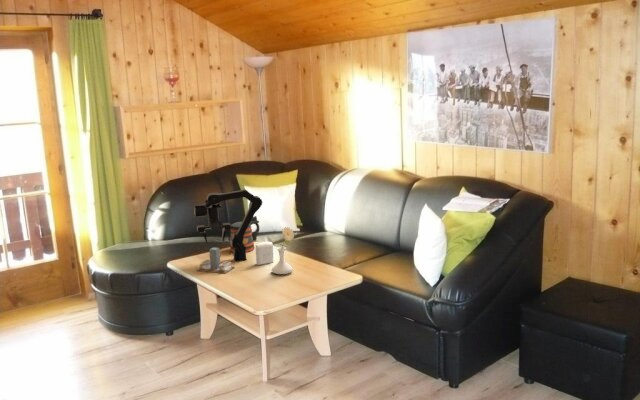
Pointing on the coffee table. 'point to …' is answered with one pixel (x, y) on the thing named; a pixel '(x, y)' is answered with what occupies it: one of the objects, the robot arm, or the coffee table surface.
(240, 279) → the coffee table surface
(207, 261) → the board
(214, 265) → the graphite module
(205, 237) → the robot arm
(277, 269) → the flower in vase
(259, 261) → the photo printer
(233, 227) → the beer stein
